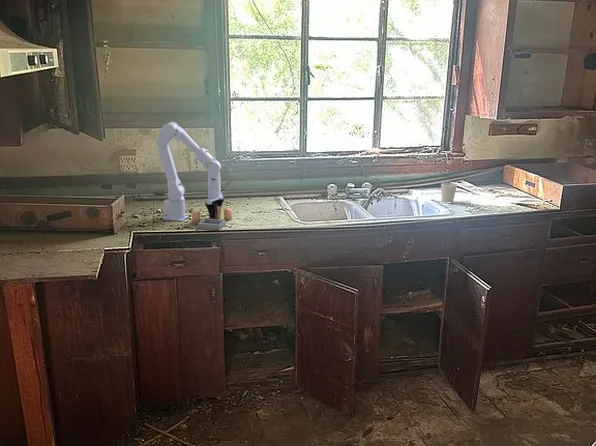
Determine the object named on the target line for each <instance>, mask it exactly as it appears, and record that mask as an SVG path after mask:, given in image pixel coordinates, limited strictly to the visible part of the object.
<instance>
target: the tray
mask: <svg viewBox="0 0 596 446" xmlns="http://www.w3.org/2000/svg"><path fill="white" fill-rule="evenodd" d="M224 227H226V220H224V219H219V220H215V219H209V218H203V219H202V220H200V222H199V223H198V224H197V229H201V230H209V231H210V230H212V231H220V230H222V229H223V228H224Z"/></svg>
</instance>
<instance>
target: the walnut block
mask: <svg viewBox="0 0 596 446" xmlns="http://www.w3.org/2000/svg"><path fill="white" fill-rule="evenodd" d="M221 210H222V207H221V208H220V206H217V207H216V214H215V218H210V215H209V214H208V215H209V216H208V217H209V218H208V219H215V220H222V219H221V217H222V216H221V213H222V212H221Z"/></svg>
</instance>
